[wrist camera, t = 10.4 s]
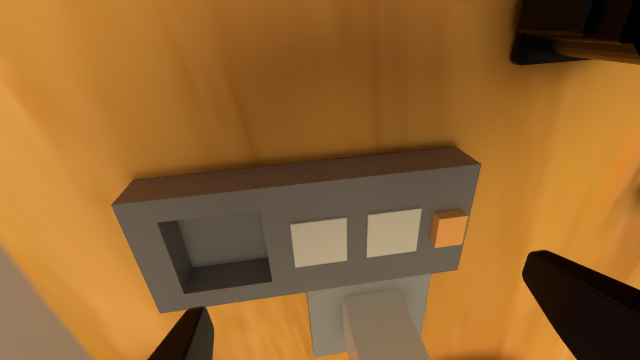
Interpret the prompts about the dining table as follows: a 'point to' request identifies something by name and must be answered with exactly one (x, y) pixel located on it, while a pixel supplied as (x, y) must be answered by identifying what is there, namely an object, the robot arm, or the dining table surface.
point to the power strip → (298, 225)
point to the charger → (380, 328)
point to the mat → (330, 301)
